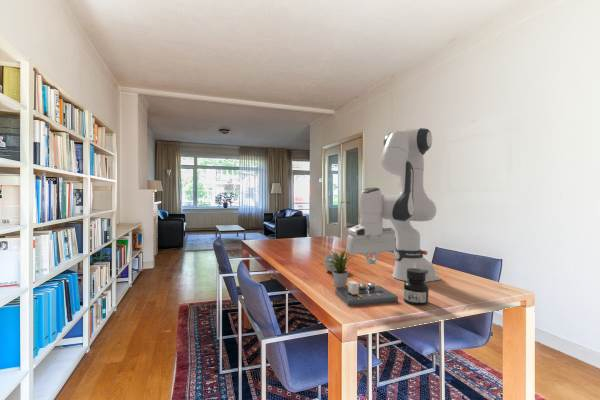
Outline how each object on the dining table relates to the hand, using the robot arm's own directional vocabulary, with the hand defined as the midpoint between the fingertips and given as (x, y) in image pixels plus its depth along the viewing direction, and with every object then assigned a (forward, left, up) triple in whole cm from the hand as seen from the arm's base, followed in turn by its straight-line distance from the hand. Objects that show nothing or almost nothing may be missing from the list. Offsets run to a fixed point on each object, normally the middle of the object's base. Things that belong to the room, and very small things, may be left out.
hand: (371, 263), depth 119 cm
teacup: (+2, -39, -14) cm, 42 cm away
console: (+3, +1, -13) cm, 14 cm away
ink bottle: (-14, +9, -13) cm, 21 cm away
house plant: (+7, -17, -13) cm, 23 cm away
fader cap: (+8, +1, -11) cm, 13 cm away
